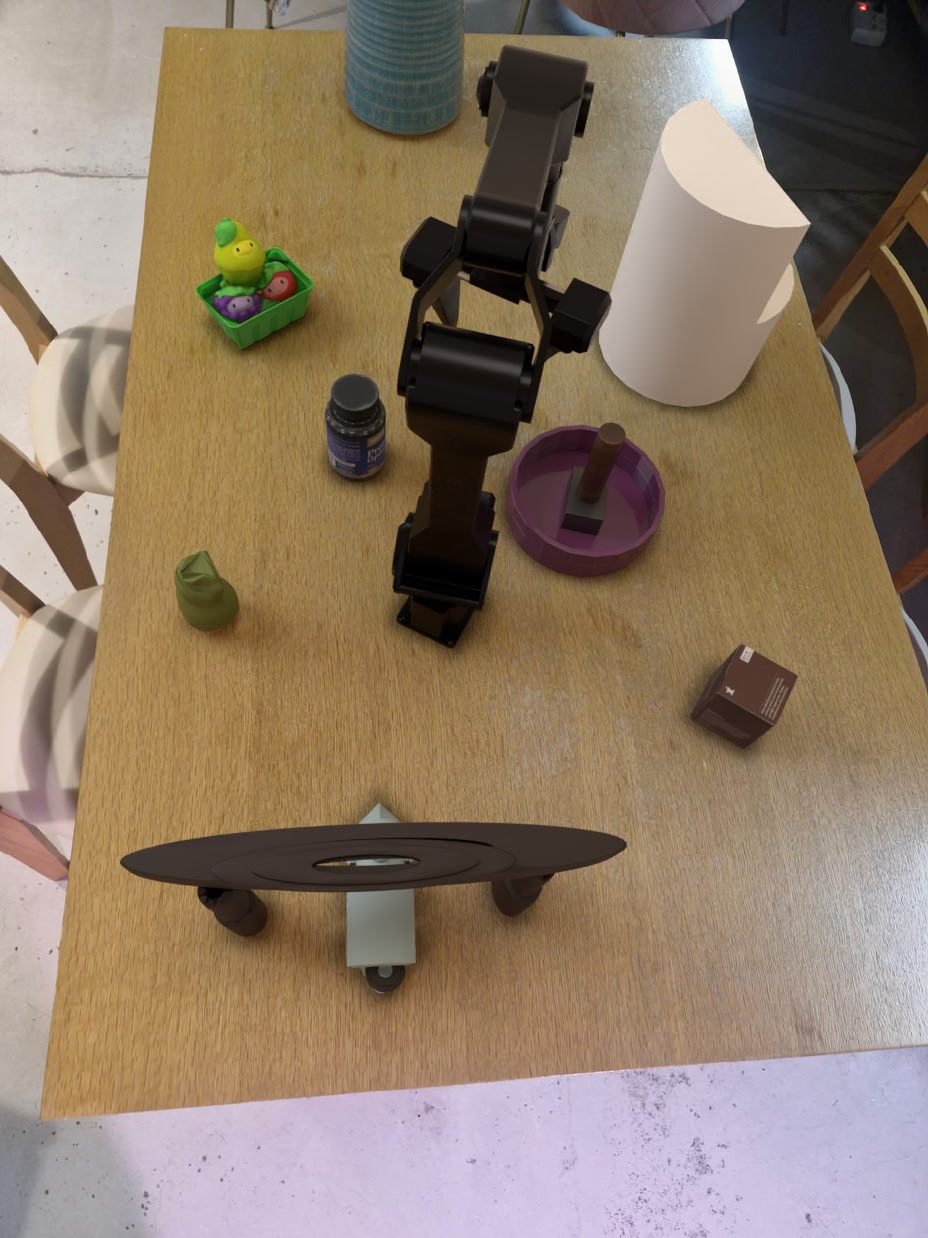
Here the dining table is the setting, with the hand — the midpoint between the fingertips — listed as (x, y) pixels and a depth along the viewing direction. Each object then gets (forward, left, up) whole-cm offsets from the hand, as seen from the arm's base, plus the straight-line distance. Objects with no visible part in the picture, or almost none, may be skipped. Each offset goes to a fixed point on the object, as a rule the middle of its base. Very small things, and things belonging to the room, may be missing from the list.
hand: (493, 350), depth 84 cm
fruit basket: (+2, +30, -13) cm, 33 cm away
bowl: (-4, -14, -13) cm, 20 cm away
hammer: (-4, -14, -12) cm, 19 cm away
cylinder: (+24, -15, -13) cm, 31 cm away
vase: (+46, +34, -13) cm, 59 cm away
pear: (-33, +13, -13) cm, 38 cm away
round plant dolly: (-49, -14, -13) cm, 52 cm away
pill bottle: (-10, +10, -13) cm, 19 cm away
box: (-18, -36, -13) cm, 42 cm away
